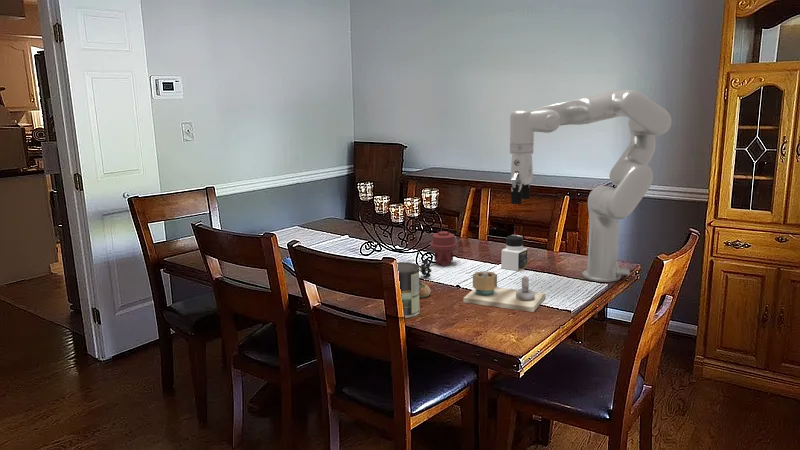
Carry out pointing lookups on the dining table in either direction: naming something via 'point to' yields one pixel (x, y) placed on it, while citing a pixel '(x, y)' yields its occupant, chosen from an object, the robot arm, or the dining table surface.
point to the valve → (425, 268)
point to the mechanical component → (443, 247)
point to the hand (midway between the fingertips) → (520, 201)
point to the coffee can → (409, 288)
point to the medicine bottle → (514, 254)
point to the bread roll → (423, 290)
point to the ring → (485, 281)
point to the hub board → (507, 297)
